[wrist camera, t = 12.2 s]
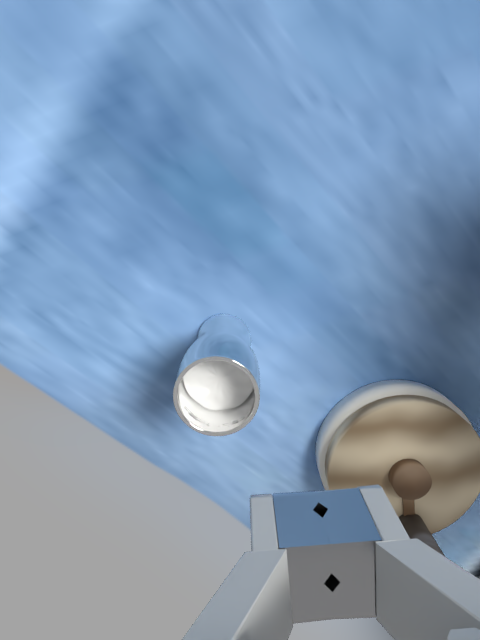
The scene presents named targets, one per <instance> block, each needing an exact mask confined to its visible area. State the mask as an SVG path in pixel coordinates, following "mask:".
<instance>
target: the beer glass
mask: <svg viewBox="0 0 480 640" xmlns="http://www.w3.org/2000/svg"><path fill="white" fill-rule="evenodd" d="M259 400H260V370H259V366H258V361H257V358H256V356H255V354H254V352H253V350H252V348H251V333H250V330H249V328H248V326H247V325H246V324H245V323H244V321H242V320H241V319H240V318H238V317H236V316H234V315H231V314H218V315H214V316H212V317H210V318H209V319H207V320H206V321H205V322H204V323H203V324H202V326H201V328H200V330H199V332H198V337H197V340H196V341H195V342H194V343H193V344H192V345H191V346H190V347H189V349H188V350H187V351H186V353H185V355H184V357H183V359H182V361H181V363H180V366H179V369H178V373H177V377H176V382H175V385H174V389H173V401H174V406H175V409H176V411H177V413H178V415H179V417H180V418H181V419H182V421H183V422H184V423H185V424H186V425H187V426H189V427H190V428H191V429H193V430H195V431H197V432H199V433H202V434H205V435H209V436H225V435H229V434H232V433H235V432H237V431H239V430H241V429H242V428H244V427H245V426H246V425H247V424H248V423H249V422H250V421H251V420H252V419H253V417H254V416H255V414H256V412H257V409H258V406H259Z"/></svg>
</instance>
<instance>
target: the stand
mask: <svg viewBox="0 0 480 640" xmlns="http://www.w3.org/2000/svg"><path fill="white" fill-rule="evenodd" d="M395 395H419V396H424V397H428V398H432V399H435V400H437V401H439V402H441V403H444V404H445V405H447V406H448V407H450V408H452V409H453V410H454V411H455V412H456V413H457V414H459V415H460V416H461V417H462V418H463V419H464V420H465V421H467V422H468V423H469V424H470V425H471V426H472V424H471V423H470V421H469V420H468V418H467V417H466V415H465V414H464V413H463V412H462V411H461V410H460V409H459V408H458V407H457V406H455V405H454V404H453V403H452V402H451V401H450V400H448V399H447V398H446V397H445V396H444V395H442V394H441V393H440V392H438V391H437V390H435V389H433V388H431V387H429V386H427V385H424V384H422V383H418V382H414V381H409V380H385V381H379V382H375V383H371V384H368V385H366V386H363V387H361V388H359V389H357V390H355V391H353V392H351V393H350V394H348V395H347V396H345V397H344V398H343V399H342V400H341V401H339V402H338V403H337V404H336V405H335V406H334V407H333V409H332V410H331V411H330V412H329V414H328V415H327V416H326V418H325V419H324V421H323V423H322V425H321V427H320V430H319V433H318V436H317V441H316V450H315V454H316V463H317V467H318V471H319V474H320V477H321V480H322V483H323V486H324V488H325V490H329V487H328V484H327V481H326V476H325V457H326V453H327V449H328V446H329V444H330V441H331V439H332V437H333V436H334V434H335V432H336V431H337V429H338V428H339V427H340V426H341V424H342V423H343V422H344V421H345V420H346V419H347V418H348V417H349V416H350V415H352V414H353V413H354V412H355V411H357V410H358V409H360V408H362V407H363V406H365V405H367V404H369V403H371V402H373V401H376V400H379V399H382V398H385V397H390V396H395ZM472 428H473V427H472Z"/></svg>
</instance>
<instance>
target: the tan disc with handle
mask: <svg viewBox="0 0 480 640" xmlns="http://www.w3.org/2000/svg"><path fill="white" fill-rule="evenodd" d="M325 476H326V481H327V484H328V487H329V490H336V489H347V488H357V487H361V486H370V485H380V486H381V487H382V488H383V490H384V492H385V494H386V496H387V497H388V499H389V501H390V503H391V505H392V507H393V508H394V510H395V512H396V514H397V516H398V518H399V519H400V521H401V523H402V525H403V527H404V529H405V530H406V532H407V534H408V536H409V538H410V539H419V540H420V541H422V542H423V543H425V544H426V545H428V546H429V547H431V548H432V549H434V550H435V551H437V552H438V553H440V554H442V555H443V556H444V554H443V552H442V551H441V549H440V548H439V546H438V544H437V543H436V541H435V539H434V538H433V536H432V534H433V533H435V532H438V531H440V530H442V529H444V528H446V527H448V526H449V525H451V524H452V523H454V522H455V521H456V520H457V519H459V518H460V517H461V516H462V515H463V514H464V513H465V512H466V511H467V510H468V509H469V508H470V507H471V505H472V504H473V502H474V501H475V500H476V498H477V496H478V494H479V492H480V438H479V436H478V435H477V433H476V431H475V430H474V429H473V428H472V426H471V425H470V424H469V423H468V422H467V421H465V420H464V419H463V418H462V417H461V416H460V415H459V414H457V413H456V412H455V411H454V410H453V409H452V408H450V407H448V406H447V405H445V404H444V403H441V402H439V401H437V400H435V399H432V398H428V397H424V396H419V395H395V396H390V397H385V398H382V399H379V400H376V401H373V402H371V403H369V404H367V405H365V406H363V407H362V408H360V409H358V410H357V411H355V412H354V413H353V414H352V415H350V416H349V417H348V418H347V419H346V420H345V421H344V422H343V423H342V424H341V426H340V427H339V428H338V429H337V431H336V432H335V434H334V436H333V437H332V439H331V441H330V444H329V446H328V449H327V453H326V457H325Z"/></svg>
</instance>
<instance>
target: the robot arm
mask: <svg viewBox="0 0 480 640" xmlns="http://www.w3.org/2000/svg"><path fill="white" fill-rule="evenodd" d="M250 519H251V549H252V551H251V552H245V553H244V554H243V555H242V557H241V558H240V560H239V561H238V562H237V564H236V565H235V567H234V568H233V569H232V571H231V572H230V574H229V575H228V576H227V578H226V579H225V580H224V582H223V583H222V585H221V586H220V588H219V589H218V590H217V592H216V593H215V594H214V596H213V597H212V599H211V600H210V601H209V603H208V604H207V606H206V607H205V608H204V610H203V611H202V612H201V614H200V615H199V617H198V618H197V619H196V621H195V622H194V624H193V625H192V626H191V628H190V629H189V631H188V632H187V633H186V635H185V636H184V638H183V639H182V640H288V638H289V635H290V633H291V630H292V628H293V623H302V622H311V621H320V620H330V619H349V618H372V617H377V621H378V622H379V623H380V624H381V625H382V626H383V627H384V628H385V629H386V631H387V632H388V633H389V634H390V635H391V636H392V637H393V638H394V639H395V640H480V579H478V578H477V577H475V576H474V575H472V574H471V573H469V572H467V571H466V570H464V569H463V568H461V567H460V566H458V565H457V564H455V563H454V562H452V561H451V560H449V559H448V558H446V557H445V556H443V555H442V554H440V553H438V552H437V551H435V550H434V549H432V548H431V547H429V546H428V545H426V544H425V543H423V542H422V541H420V540H419V539H410V538H409V536H408V534H407V532H406V530H405V529H404V527H403V525H402V523H401V521H400V519H399V518H398V516H397V514H396V512H395V510H394V508H393V507H392V505H391V503H390V501H389V499H388V497H387V496H386V494H385V492H384V490H383V488H382V487H381V486H380V485H370V486H361V487H357V488H347V489H336V490H324V491H308V492H291V493H274V494H273V497H272V494H262V495H251V497H250Z"/></svg>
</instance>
